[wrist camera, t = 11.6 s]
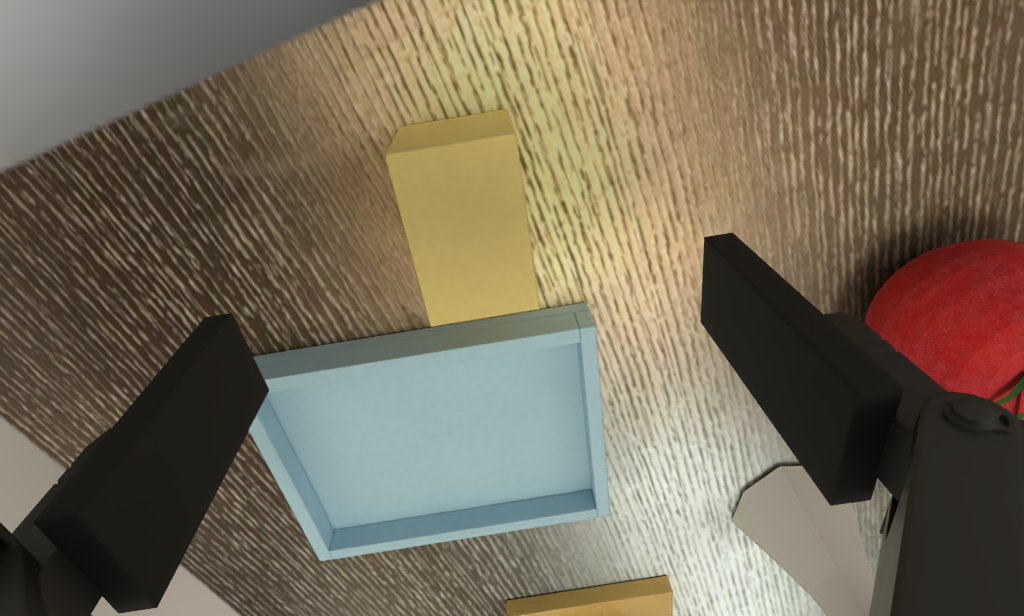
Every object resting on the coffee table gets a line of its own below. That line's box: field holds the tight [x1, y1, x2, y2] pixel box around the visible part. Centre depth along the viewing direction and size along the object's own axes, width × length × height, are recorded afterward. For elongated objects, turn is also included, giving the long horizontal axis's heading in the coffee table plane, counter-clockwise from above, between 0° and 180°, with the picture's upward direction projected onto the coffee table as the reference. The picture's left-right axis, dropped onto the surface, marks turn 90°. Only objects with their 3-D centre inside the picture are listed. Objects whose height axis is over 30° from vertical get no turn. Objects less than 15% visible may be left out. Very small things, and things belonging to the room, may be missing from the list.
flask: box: [732, 466, 875, 616], centre depth 31 cm, size 7×7×10 cm
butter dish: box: [249, 302, 610, 561], centre depth 29 cm, size 18×14×2 cm
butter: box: [385, 109, 540, 327], centre depth 21 cm, size 7×4×4 cm, turn 8°
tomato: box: [864, 239, 1024, 420], centre depth 24 cm, size 9×9×8 cm
